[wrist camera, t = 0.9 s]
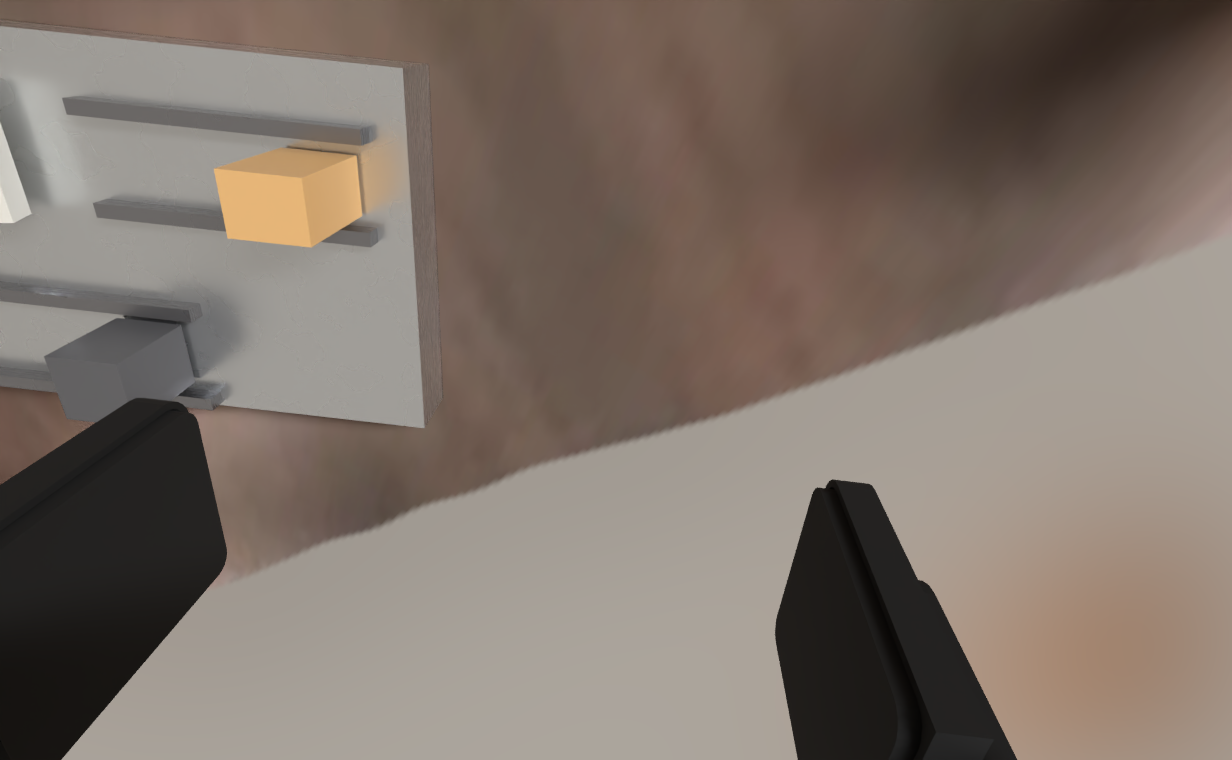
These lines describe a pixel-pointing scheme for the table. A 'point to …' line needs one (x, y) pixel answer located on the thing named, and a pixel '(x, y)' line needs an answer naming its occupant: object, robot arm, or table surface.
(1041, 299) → the table surface
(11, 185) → the plate
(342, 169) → the orange block
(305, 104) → the panel
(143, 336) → the fader knob
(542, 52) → the table surface
